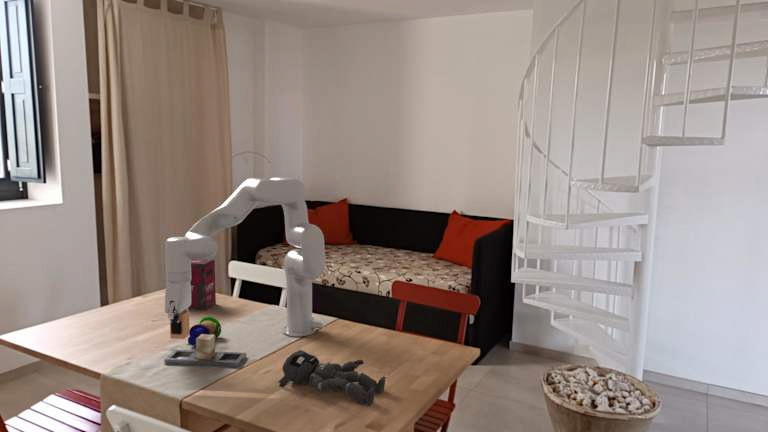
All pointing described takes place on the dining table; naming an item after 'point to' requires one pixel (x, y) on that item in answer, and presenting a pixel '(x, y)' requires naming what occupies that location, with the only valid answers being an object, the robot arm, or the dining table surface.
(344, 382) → the robot
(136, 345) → the dining table surface
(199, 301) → the box
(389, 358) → the dining table surface
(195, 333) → the toy
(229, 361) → the rail
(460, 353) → the dining table surface
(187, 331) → the terracotta block
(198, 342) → the beech block
